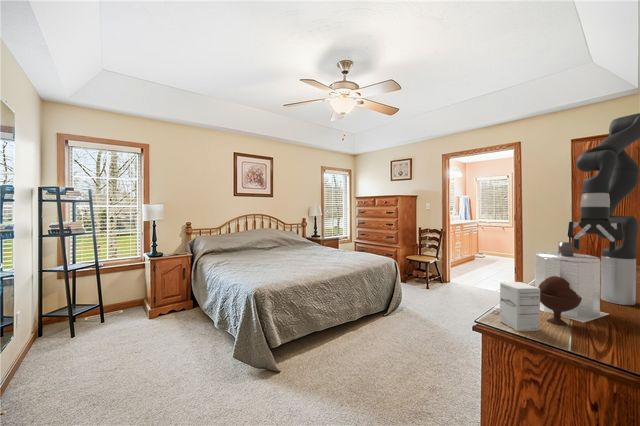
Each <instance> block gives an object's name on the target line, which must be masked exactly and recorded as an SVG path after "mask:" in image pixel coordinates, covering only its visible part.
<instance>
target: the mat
mask: <svg viewBox="0 0 640 426" xmlns="http://www.w3.org/2000/svg"><path fill="white" fill-rule="evenodd" d="M540 311H542V312H545V313H547V312H546V311H543V310H541V309H540ZM548 313H550V312H548ZM550 314H553V313H550ZM553 315H554V314H553ZM608 315H610V313H607V312H602V311H600V317H597V318H594V319H579V318H572V317H566V316H561V317H563V318H566V319H570V320H573V321H577V322H579V323H580V322H581V323H583V324H584V323H588V322H590V321H594V320H596V319H599V318H602V317H605V316H608Z"/></svg>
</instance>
